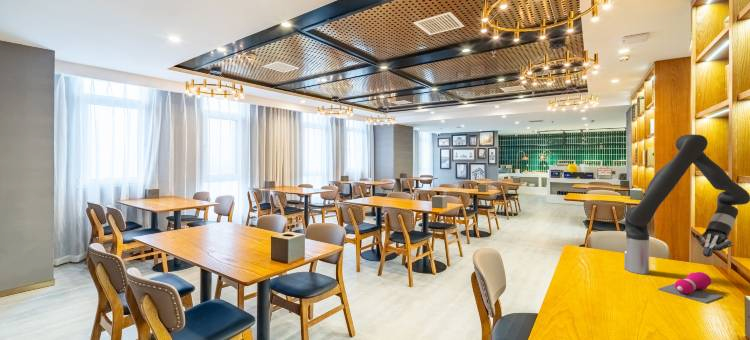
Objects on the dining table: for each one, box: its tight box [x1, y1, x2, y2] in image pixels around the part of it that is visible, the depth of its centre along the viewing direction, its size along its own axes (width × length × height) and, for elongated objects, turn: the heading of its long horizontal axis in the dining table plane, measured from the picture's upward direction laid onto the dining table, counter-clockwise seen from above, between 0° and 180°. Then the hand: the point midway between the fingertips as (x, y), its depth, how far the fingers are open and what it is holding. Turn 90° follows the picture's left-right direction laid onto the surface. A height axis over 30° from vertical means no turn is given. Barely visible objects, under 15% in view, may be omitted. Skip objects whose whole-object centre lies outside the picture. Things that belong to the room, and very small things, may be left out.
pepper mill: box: [674, 271, 712, 294], centre depth 142 cm, size 7×7×20 cm
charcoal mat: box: [658, 283, 724, 304], centre depth 141 cm, size 16×14×1 cm
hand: (706, 255), depth 149 cm, fingers closed
